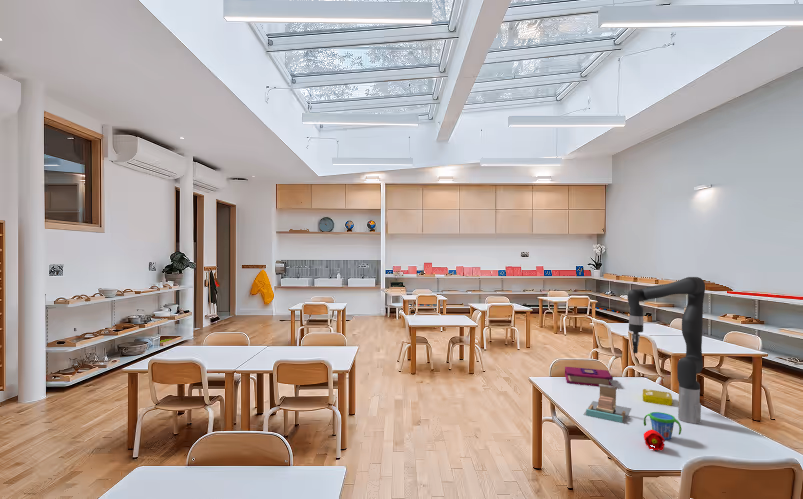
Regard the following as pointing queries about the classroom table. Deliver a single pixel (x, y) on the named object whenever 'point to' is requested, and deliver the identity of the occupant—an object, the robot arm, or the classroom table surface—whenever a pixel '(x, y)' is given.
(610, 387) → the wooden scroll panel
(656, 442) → the flower
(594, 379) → the book
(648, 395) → the element tile
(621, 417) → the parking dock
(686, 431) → the classroom table surface
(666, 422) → the snack cup
